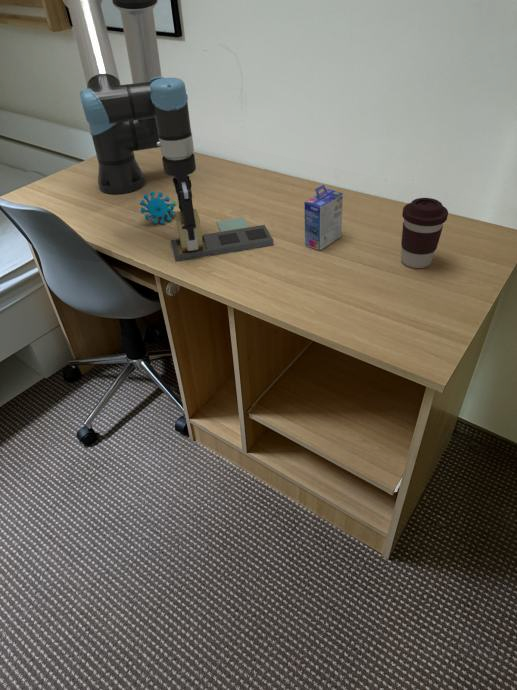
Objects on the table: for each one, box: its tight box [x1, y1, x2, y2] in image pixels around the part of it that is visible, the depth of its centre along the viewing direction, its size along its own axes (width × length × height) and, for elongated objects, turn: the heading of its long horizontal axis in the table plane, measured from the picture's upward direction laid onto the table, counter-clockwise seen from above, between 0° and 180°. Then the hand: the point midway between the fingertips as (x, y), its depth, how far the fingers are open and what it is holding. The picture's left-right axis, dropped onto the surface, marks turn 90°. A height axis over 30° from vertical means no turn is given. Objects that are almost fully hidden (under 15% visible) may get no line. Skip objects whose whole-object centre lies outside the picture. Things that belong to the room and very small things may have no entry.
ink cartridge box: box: [304, 184, 344, 251], centre depth 126 cm, size 10×6×14 cm, turn 138°
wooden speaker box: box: [174, 208, 205, 254], centre depth 127 cm, size 6×6×10 cm
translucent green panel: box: [216, 216, 249, 232], centre depth 139 cm, size 8×8×1 cm
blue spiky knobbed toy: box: [139, 191, 178, 225], centre depth 144 cm, size 11×6×10 cm
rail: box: [170, 224, 274, 262], centre depth 131 cm, size 9×26×2 cm, turn 104°
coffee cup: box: [400, 197, 449, 269], centre depth 117 cm, size 10×10×15 cm
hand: (191, 243), depth 129 cm, fingers closed on wooden speaker box, 5 cm apart
